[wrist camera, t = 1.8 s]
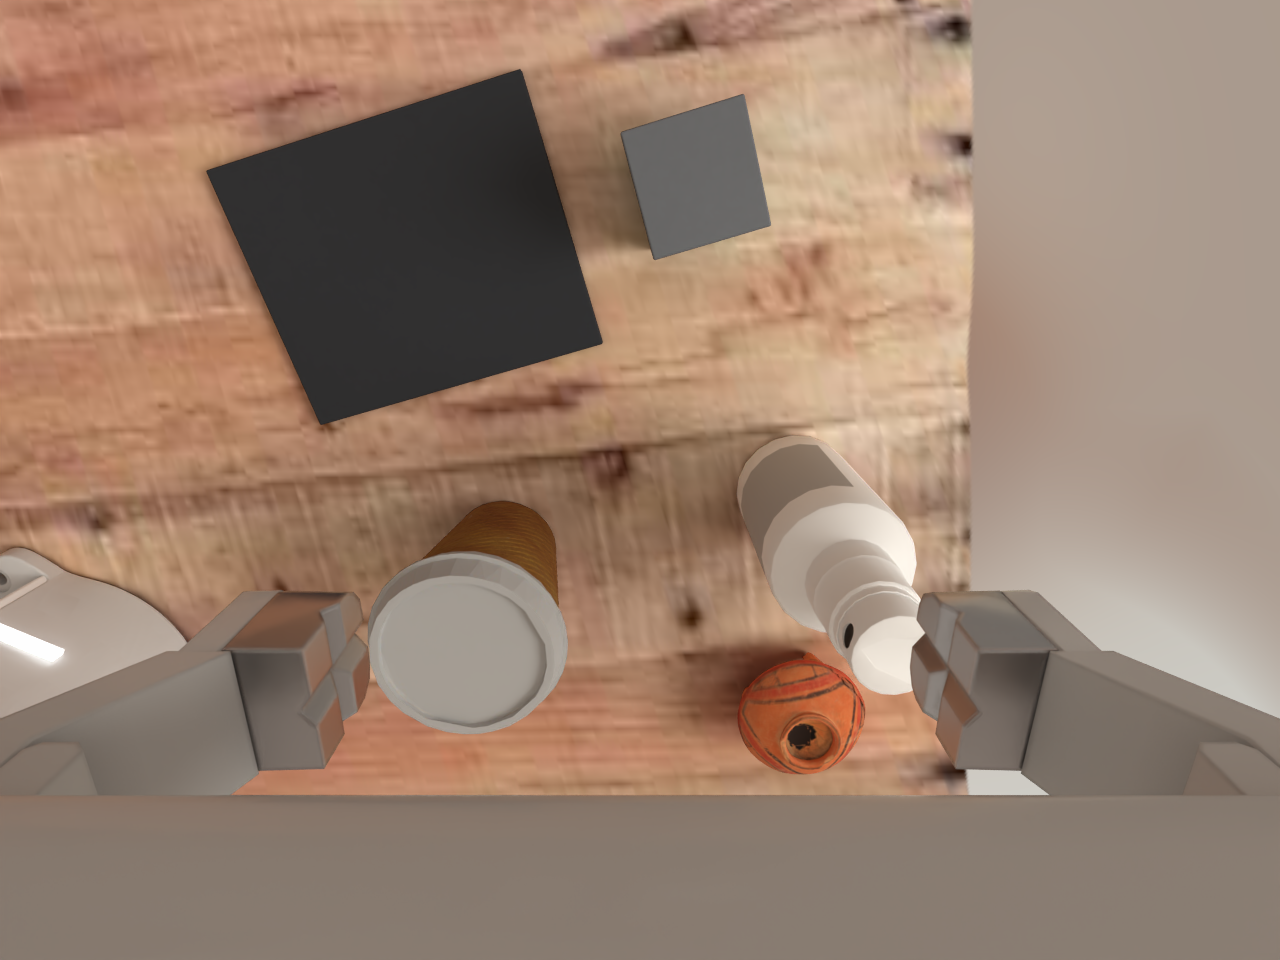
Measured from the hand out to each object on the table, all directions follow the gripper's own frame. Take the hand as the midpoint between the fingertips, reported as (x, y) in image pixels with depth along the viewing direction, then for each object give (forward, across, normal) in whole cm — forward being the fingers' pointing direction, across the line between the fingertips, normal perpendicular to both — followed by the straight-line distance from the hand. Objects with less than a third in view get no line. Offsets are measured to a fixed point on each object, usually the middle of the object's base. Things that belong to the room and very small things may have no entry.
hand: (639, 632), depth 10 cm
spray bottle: (+31, +9, -10) cm, 34 cm away
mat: (+31, -12, +4) cm, 33 cm away
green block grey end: (+31, +2, +7) cm, 32 cm away
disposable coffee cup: (+31, -8, -13) cm, 35 cm away
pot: (+31, +10, -24) cm, 40 cm away
